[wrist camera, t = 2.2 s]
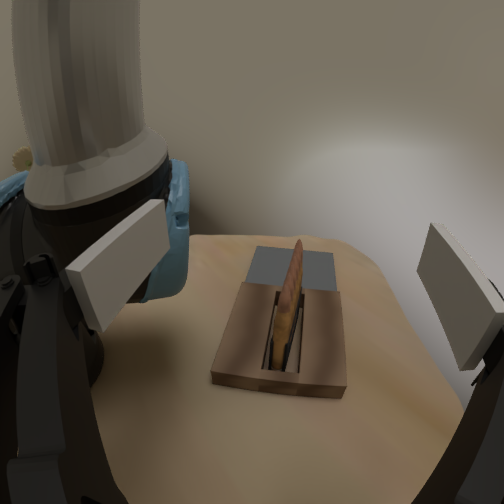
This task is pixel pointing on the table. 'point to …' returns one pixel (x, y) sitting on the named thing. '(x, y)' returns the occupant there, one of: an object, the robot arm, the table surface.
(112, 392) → the table surface
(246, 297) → the walnut caddy
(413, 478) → the table surface
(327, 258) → the slate mat
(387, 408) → the table surface
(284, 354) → the ammunition clip
